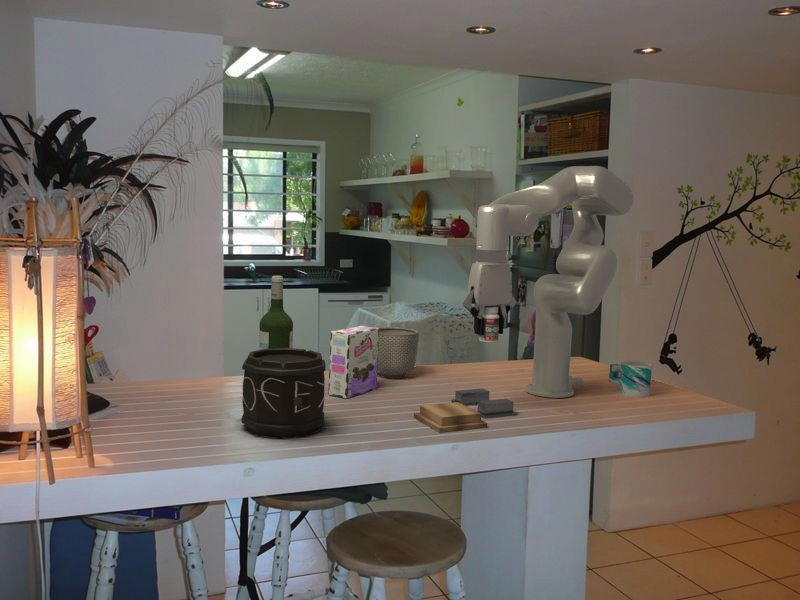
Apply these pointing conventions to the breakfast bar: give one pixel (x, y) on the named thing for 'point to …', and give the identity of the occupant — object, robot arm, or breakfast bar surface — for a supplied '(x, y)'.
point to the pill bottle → (490, 324)
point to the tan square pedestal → (450, 417)
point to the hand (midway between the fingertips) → (488, 332)
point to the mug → (632, 378)
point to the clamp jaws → (485, 403)
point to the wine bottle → (276, 321)
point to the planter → (396, 351)
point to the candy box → (353, 361)
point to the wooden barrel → (283, 392)
